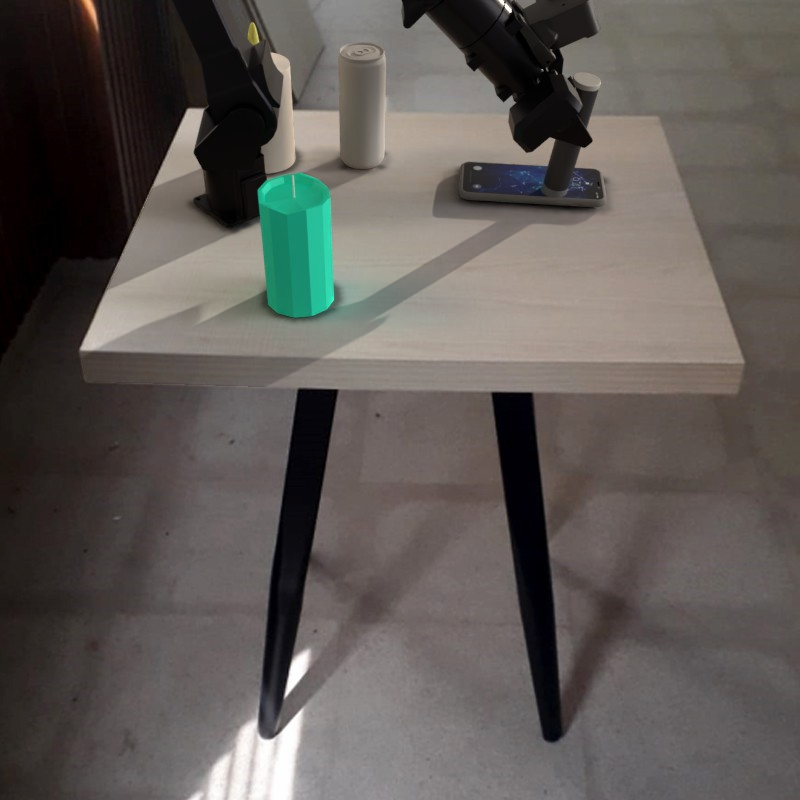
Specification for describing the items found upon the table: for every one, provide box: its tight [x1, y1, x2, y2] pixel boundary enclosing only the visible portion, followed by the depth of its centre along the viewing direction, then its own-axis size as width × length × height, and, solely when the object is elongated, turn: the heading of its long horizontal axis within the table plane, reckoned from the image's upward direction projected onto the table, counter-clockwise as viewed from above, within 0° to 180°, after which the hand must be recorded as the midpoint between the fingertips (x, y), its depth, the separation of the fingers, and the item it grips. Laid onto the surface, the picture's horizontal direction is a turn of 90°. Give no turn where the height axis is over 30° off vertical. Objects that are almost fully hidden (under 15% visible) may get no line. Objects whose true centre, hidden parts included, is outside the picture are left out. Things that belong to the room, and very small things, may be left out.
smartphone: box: [458, 161, 608, 208], centre depth 99 cm, size 7×1×15 cm
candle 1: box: [247, 22, 296, 175], centre depth 98 cm, size 6×6×15 cm
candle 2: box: [258, 172, 335, 318], centre depth 80 cm, size 6×6×12 cm
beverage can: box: [337, 41, 387, 170], centre depth 99 cm, size 5×5×12 cm
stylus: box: [541, 71, 602, 198], centre depth 93 cm, size 3×3×13 cm
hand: (585, 136), depth 92 cm, fingers closed on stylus, 2 cm apart
